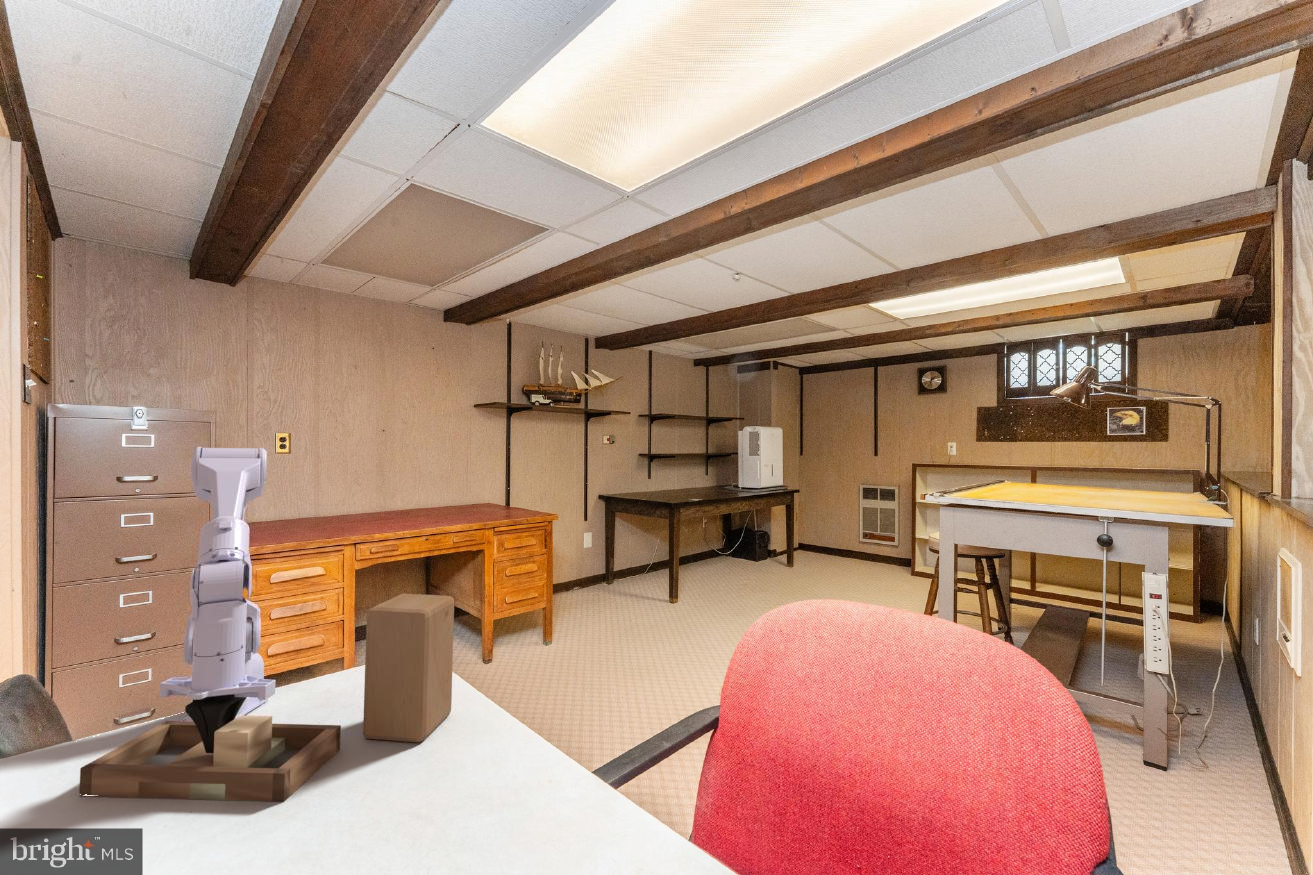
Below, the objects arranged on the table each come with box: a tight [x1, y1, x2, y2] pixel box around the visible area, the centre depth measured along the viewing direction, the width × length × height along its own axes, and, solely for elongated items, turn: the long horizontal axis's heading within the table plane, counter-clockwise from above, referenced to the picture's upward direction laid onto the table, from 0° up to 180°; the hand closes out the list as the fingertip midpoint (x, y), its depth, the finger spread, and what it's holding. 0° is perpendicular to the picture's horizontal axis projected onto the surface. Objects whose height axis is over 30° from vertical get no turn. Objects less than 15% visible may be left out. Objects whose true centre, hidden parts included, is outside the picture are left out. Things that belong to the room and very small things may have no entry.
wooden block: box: [362, 593, 455, 743], centre depth 88 cm, size 10×10×20 cm
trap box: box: [78, 720, 342, 803], centre depth 75 cm, size 12×26×4 cm, turn 89°
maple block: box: [213, 714, 273, 767], centre depth 75 cm, size 4×4×4 cm
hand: (215, 749), depth 75 cm, fingers closed
